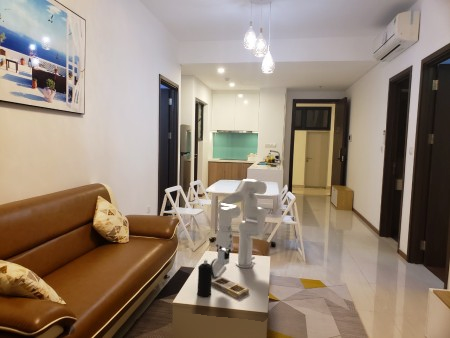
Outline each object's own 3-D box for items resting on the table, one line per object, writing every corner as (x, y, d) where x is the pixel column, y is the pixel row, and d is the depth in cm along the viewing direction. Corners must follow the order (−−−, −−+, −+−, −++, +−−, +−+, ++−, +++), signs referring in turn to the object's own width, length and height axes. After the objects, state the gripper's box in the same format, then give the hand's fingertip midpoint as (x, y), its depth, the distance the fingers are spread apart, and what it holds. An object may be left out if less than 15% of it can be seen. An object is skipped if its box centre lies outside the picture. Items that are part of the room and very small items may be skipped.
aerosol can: (212, 297, 173) (214, 262, 170) (198, 298, 170) (200, 263, 168) (209, 289, 180) (211, 257, 178) (195, 291, 178) (197, 257, 176)
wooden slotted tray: (220, 280, 193) (221, 276, 193) (248, 293, 179) (248, 288, 178) (210, 284, 186) (210, 280, 186) (238, 298, 172) (239, 294, 172)
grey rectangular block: (222, 260, 189) (223, 248, 188) (229, 263, 185) (229, 250, 185) (217, 262, 185) (217, 250, 184) (223, 265, 182) (224, 252, 181)
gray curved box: (218, 279, 195) (213, 263, 195) (211, 280, 196) (207, 264, 196) (226, 268, 210) (222, 254, 210) (220, 269, 212) (216, 255, 212)
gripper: (240, 230, 180) (238, 260, 182) (218, 223, 191) (217, 251, 193) (231, 232, 174) (230, 263, 176) (210, 225, 186) (209, 254, 188)
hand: (223, 257), depth 185 cm, fingers closed on grey rectangular block, 5 cm apart
